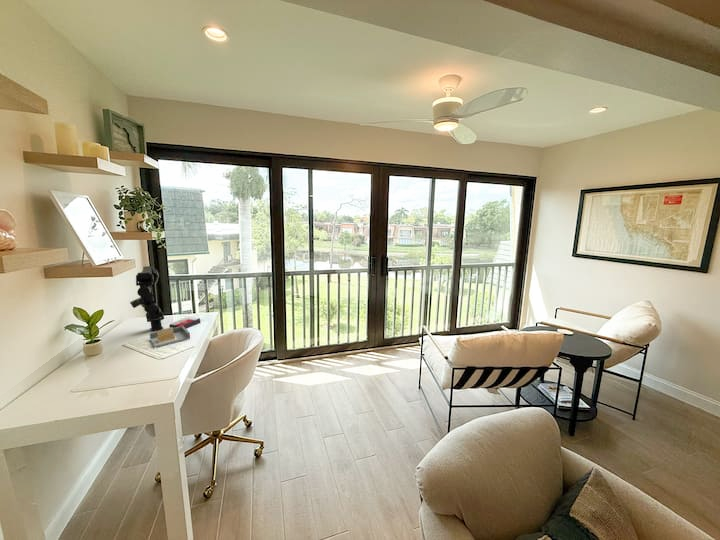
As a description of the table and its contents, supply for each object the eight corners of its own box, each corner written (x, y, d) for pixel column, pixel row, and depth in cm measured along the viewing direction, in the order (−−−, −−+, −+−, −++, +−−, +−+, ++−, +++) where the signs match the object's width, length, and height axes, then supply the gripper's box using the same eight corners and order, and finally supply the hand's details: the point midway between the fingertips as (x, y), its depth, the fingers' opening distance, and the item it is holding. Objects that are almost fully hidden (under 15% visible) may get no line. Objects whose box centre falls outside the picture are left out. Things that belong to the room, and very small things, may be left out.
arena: (150, 339, 176) (149, 333, 176) (183, 331, 189) (183, 325, 188) (154, 348, 165) (153, 341, 164) (190, 338, 177) (189, 332, 176)
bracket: (173, 336, 178) (172, 327, 177) (175, 338, 175) (174, 329, 174) (158, 340, 173) (156, 330, 172) (159, 342, 169) (158, 333, 168)
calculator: (168, 323, 193) (188, 315, 207) (169, 329, 194) (189, 321, 208) (180, 325, 189) (200, 317, 203) (181, 332, 190) (201, 323, 204)
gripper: (128, 292, 175) (132, 317, 178) (131, 298, 162) (136, 325, 165) (150, 289, 183) (154, 313, 186) (155, 294, 169) (159, 320, 172)
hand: (150, 317), depth 177 cm, fingers open, 9 cm apart
